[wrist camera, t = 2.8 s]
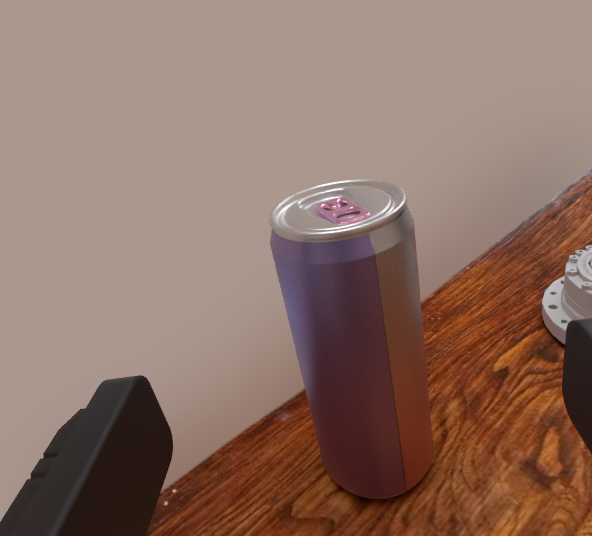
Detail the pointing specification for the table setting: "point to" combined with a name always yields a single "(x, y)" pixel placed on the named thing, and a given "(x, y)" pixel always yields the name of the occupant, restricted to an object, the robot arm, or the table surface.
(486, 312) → the table surface
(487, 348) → the table surface
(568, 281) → the mechanical component
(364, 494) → the beverage can
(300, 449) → the table surface
